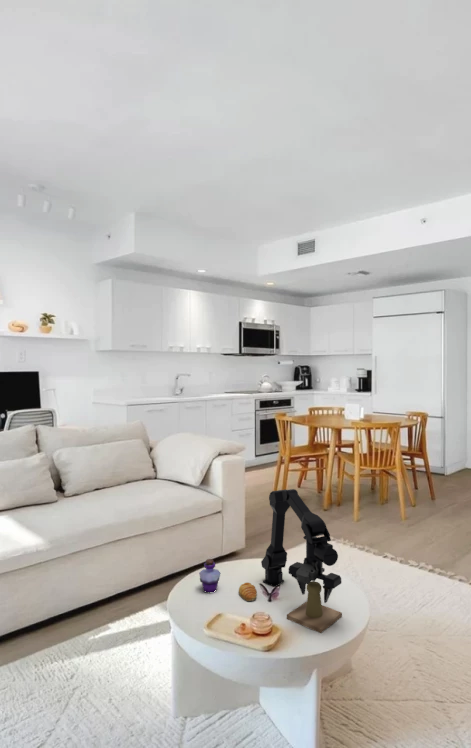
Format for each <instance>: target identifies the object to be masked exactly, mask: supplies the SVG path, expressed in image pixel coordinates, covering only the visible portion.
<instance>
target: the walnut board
mask: <svg viewBox="0 0 471 748" xmlns="http://www.w3.org/2000/svg"><path fill="white" fill-rule="evenodd" d="M321 605H322V604H321ZM306 606H307V601H305V602H303V603H302V604H301V605H299V606H297V607H296V608H295V609H292V610H291V611H289V613H287V614H286V620H288V621H291V622H292V623H295V624H298V625H301V626H303V627H306V628H308V629H310V630H312V631H314V632H317V633H319V634H322V633H323V632H324V631H326V630H327V629H328V628H329V627H331V626H332V625H334V624H335V623H336V622H337V621H339V620H340V619H341V618H342V617H343V612H341V611H339V610H336V609H333V608H331V607H328V606H325V605H322V612H323V615H322V616H321V617H319V618H311V617H309V616H307V615H306Z"/></svg>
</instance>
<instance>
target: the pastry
mask: <svg viewBox="0 0 471 748" xmlns="http://www.w3.org/2000/svg"><path fill="white" fill-rule="evenodd" d="M238 594H239V596H240V597H241V598H242V599H243V600H244V601H247V602H251V601H253V602H254V601H255V600H256V599H257V596H258V591H257V589H256V586H255V585H254V584H252V583H251V582H244V583H242V584H241V585H240V586H239V588H238Z"/></svg>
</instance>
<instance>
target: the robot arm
mask: <svg viewBox="0 0 471 748" xmlns="http://www.w3.org/2000/svg"><path fill="white" fill-rule="evenodd" d="M268 500H269V506H270V508H271V509H272V520H271V521H272V522H271V523H272V524H271V535H270V536H271V537H270V545H268V547H267V548H266V550H265V555H264V557H263V558H262V559H261V562H260V563H261V567H262V568H263V570H264V573H265V574H264V575H265V576H264V577H265V578H264V579H263V580H262V583H265V584H267V585H270V586H272V587H277V586H279V585H281V584H282V583H284V582H285V580H284V579H283V575H284V573H283V571H282V570H283V568H286V563H287V561H288V557H287V556H288V552H287V551H286V550H285V547H284V535H285V521H286V513H287V512H288V510H289V508H290V507H291V509H292V510H293V512H294V513H295V515H296V516H297V518H298V519H299V520H300V523H301V525H300V529H301V530H302V532H303V534H304V536H302V537H303V539H304V540H305V543H306V544H305V550H306V551H305V556H306V557H304V559H303V563H302V562H298V561H296V562H294V563H292V564H290V566H289V567H288V574H289V575H290V576H291V577H292V578H294V579H295V580H296V582H297V584H298V586H299V589H300V593H301V595H303V596H304V595H305V593H306V590H307V584H309V583H310V582H312V581H315V582H316V581H317V579H318V580H321V581H322V588H323V601H324V604H327V602H328V600H329V598H330V596H331V593H332V591H333V590H334V589H335V588H337V587H339V586H340V585H341V584H342V576H341V575H339V574H336V573H333V572H330V573H328V574H323V573H324V572H325V568H324V567H323V564H325V565H326V566H328V567H331V566H334V565H335V564H336V563H337V561H338V558H339V555H338V551H337V550H336V549H335V548H334V545H333V544H331V543H329V542H331V541H332V539H331V534H330V532H329V529H328V527H327V524H326V523H325V521H324V519H322V517H320V516H319V515H317V514H315V513H313V512H312V511H311V510H310V508H309V507H308V505H306V503H305V502H304V500H303V498H301V496H300V495H299V493H298V490H297V489H295V488H291V489H280V490H272V491H271V492H269V496H268ZM276 585H277V586H276Z"/></svg>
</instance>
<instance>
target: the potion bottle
mask: <svg viewBox="0 0 471 748" xmlns="http://www.w3.org/2000/svg"><path fill="white" fill-rule="evenodd" d="M203 565H204V566H203V567H204V569H201V570H200V571H199V572H198V575H199V582H200V583H201V585H202V590H203V589H204V591H206V592H214V591H215V590H216V591H218V590H217V589H218V584H219V581H220V577H221V571H220V570H219V569H216V562H215V561H214V559H213V558H207V559H206V561H205V562H204V563H203ZM204 591H203V592H204ZM216 591H215V592H216ZM206 592H205V593H206ZM215 592H214V593H215Z"/></svg>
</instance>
